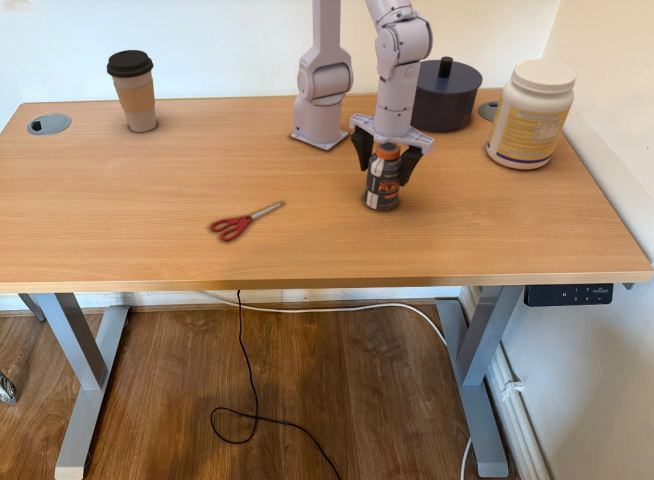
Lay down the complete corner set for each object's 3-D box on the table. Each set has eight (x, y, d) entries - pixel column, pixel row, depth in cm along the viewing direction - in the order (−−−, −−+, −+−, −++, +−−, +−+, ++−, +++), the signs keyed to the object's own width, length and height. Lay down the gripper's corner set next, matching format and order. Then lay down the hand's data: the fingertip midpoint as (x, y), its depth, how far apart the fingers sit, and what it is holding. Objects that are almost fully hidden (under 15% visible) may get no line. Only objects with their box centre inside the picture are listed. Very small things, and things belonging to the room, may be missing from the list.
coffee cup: (143, 111, 123) (128, 44, 112) (173, 122, 119) (161, 54, 108) (112, 128, 117) (94, 61, 107) (142, 141, 113) (127, 72, 103)
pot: (394, 125, 115) (400, 87, 109) (410, 95, 124) (416, 58, 118) (463, 138, 111) (473, 99, 105) (474, 105, 120) (484, 68, 114)
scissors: (208, 228, 94) (208, 224, 93) (272, 198, 99) (271, 194, 98) (225, 245, 91) (225, 240, 90) (290, 213, 96) (289, 208, 95)
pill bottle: (376, 215, 94) (384, 159, 86) (357, 197, 98) (363, 142, 90) (403, 204, 96) (414, 149, 88) (384, 188, 100) (392, 133, 91)
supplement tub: (563, 164, 103) (599, 79, 91) (510, 177, 101) (540, 92, 89) (522, 133, 111) (550, 52, 99) (472, 145, 109) (494, 63, 97)
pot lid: (396, 91, 109) (400, 68, 106) (414, 60, 119) (417, 39, 116) (475, 103, 105) (481, 81, 101) (486, 70, 114) (492, 49, 111)
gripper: (341, 99, 84) (336, 172, 94) (425, 126, 78) (410, 202, 88) (365, 83, 88) (357, 154, 98) (446, 107, 82) (430, 181, 91)
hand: (384, 176), depth 93 cm, fingers open, 7 cm apart
